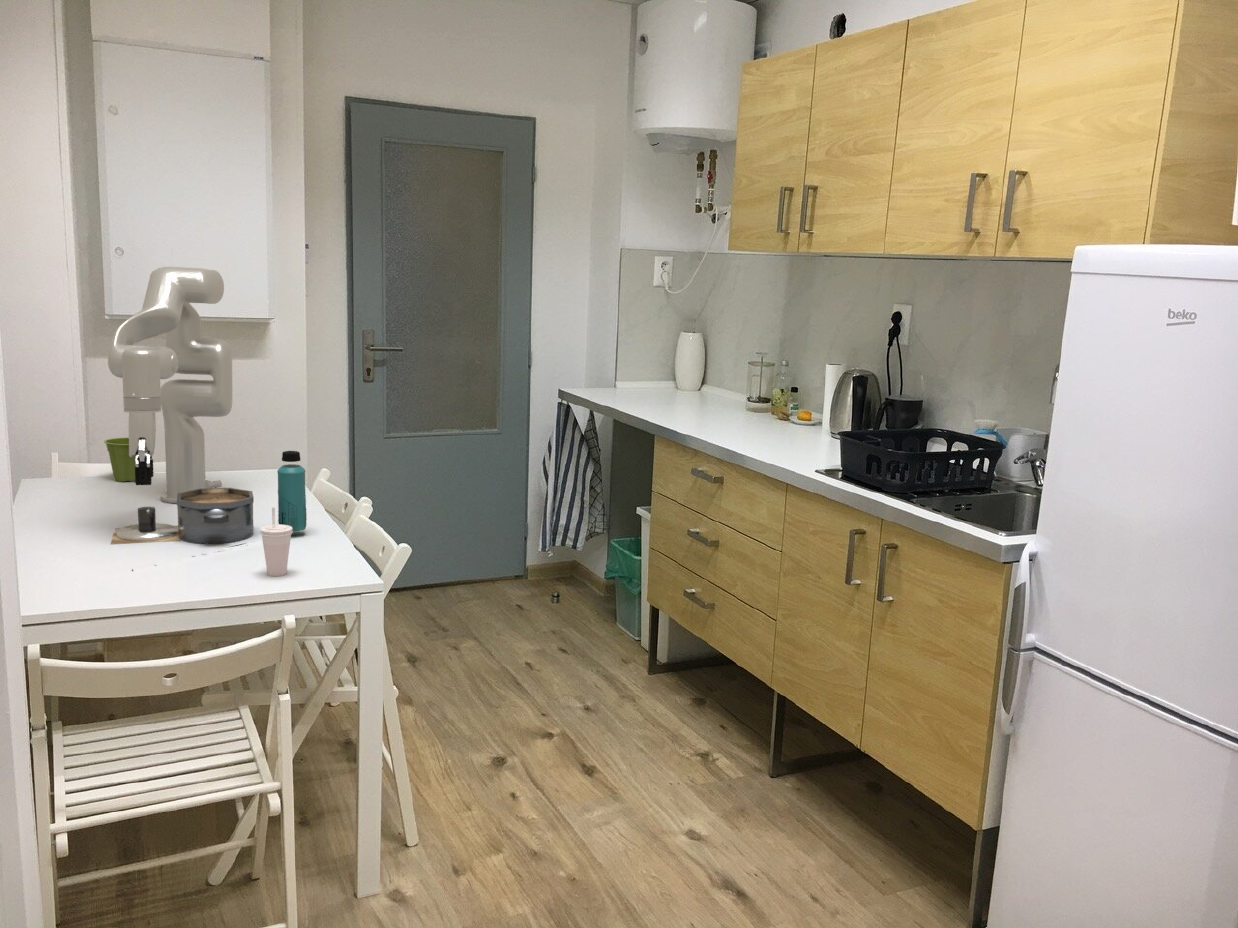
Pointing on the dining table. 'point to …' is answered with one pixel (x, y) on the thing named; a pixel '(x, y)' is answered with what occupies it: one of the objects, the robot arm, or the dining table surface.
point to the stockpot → (215, 515)
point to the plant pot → (121, 459)
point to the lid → (146, 528)
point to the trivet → (118, 541)
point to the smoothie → (276, 546)
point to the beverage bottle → (292, 493)
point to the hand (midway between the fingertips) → (144, 480)
